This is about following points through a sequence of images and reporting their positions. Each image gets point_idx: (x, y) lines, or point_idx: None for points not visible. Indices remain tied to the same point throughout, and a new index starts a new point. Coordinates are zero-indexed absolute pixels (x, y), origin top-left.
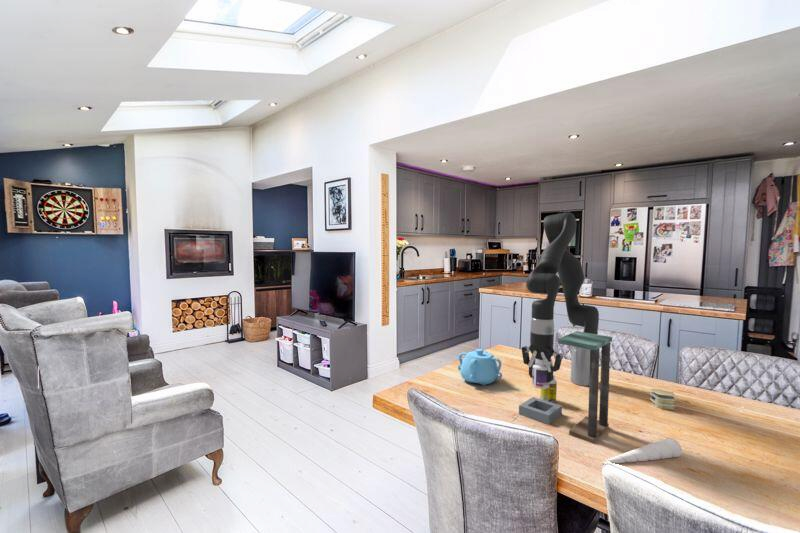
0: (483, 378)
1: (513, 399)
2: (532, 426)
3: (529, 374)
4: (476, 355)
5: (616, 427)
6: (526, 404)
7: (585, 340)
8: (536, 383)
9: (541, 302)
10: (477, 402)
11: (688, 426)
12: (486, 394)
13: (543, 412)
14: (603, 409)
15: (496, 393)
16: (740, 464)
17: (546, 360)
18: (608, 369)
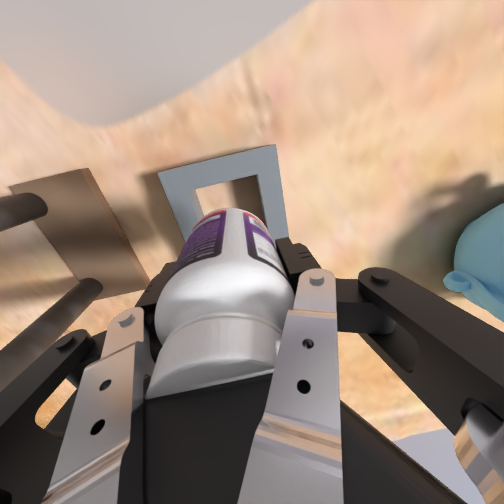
0: (501, 218)
1: (345, 221)
2: (178, 102)
3: (299, 245)
4: None
5: (93, 306)
6: (265, 180)
7: None
8: (222, 214)
9: None
10: (432, 76)
11: (63, 400)
12: (433, 173)
13: (185, 178)
14: (46, 311)
15: (408, 209)
16: None
17: (79, 411)
18: None
